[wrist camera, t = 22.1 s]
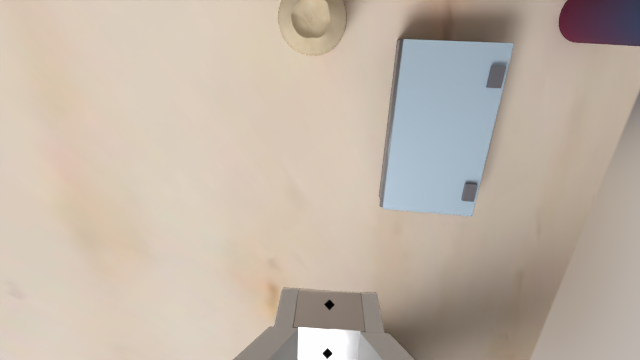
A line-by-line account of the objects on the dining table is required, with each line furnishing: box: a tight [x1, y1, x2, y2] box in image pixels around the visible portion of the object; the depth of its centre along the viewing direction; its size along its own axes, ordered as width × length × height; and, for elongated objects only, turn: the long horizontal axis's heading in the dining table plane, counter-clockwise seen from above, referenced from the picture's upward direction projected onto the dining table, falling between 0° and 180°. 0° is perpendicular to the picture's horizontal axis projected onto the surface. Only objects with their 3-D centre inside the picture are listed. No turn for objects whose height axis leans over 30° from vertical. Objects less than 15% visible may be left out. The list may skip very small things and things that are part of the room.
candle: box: [278, 0, 347, 56], centre depth 29 cm, size 6×6×10 cm
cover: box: [380, 39, 514, 216], centre depth 34 cm, size 18×10×2 cm, turn 178°
